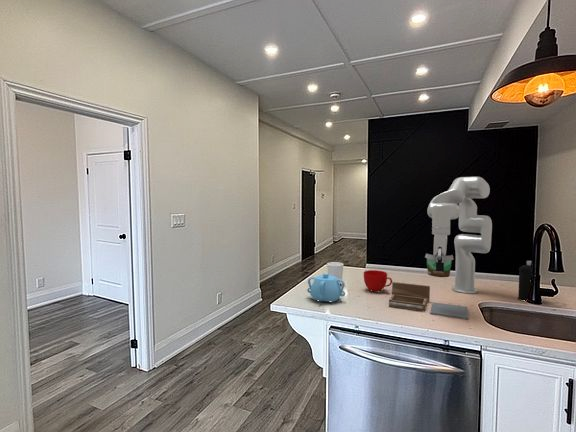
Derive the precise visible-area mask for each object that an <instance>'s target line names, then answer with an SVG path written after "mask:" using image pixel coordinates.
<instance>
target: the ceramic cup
mask: <svg viewBox="0 0 576 432" xmlns="http://www.w3.org/2000/svg"><path fill="white" fill-rule="evenodd" d="M387 280H389V281H390V283H389V284H387ZM363 281H364V284H365V286H366V288H367V289H368V291H370V290H372V291H371V292H373V291H380V292H381V291H382V290H384V289H385V288H387V287H389V286H392V282H393V279H392V278H391V277H388V272H386V271H383V270H376V269H375V270H373V269H371V270H365V271H363Z"/></svg>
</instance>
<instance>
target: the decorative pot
mask: <svg viewBox="0 0 576 432" xmlns="http://www.w3.org/2000/svg"><path fill="white" fill-rule="evenodd" d="M311 280H313V282H311ZM339 281H340V282H342V284H341V285H340V284H339ZM311 283H312V284H311ZM307 284H308V288H307V290H306V291H307V293H309V295H310V297H311V298H312V300H314V301H316V300H319V302H328V301H333V302H336V301H338V300H339V299H340V297H345V296H346V292H345V291H344V287H345V282H344V280H343V279H342V280H341V279H337V278H336V277H335V276H330V275H329V274H328V272H326V273H325V272H324V273H322V274H319V275H316V277H314V276H312V277H309V278H308V280H307Z"/></svg>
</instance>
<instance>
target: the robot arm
mask: <svg viewBox="0 0 576 432" xmlns="http://www.w3.org/2000/svg"><path fill="white" fill-rule="evenodd" d="M490 190H491V188H490V185H489V183H488V182H487V181H486V180H485V179H484V178H483V177H481V176H460V177H456V178H455V179H454V180H453V181H452V184H451V185H450V186H449V188H448V189H447V191H444V192H441V193H440V194H438V195H436V196H434V197H433V198H432V199H431V200H430V202H429V204H428V207H427V211H426V212H427V215H428V217H429V218H431V220H432V221H431V223H432V225H431V226H432V227H431V230H432V231H431V234H432V235H434V237H433V254H432V255H434V256H435V255H437V261H436V271H442V272H443V271H444V263H443V257H444V256H447V248H448V247H447V245H448V236H450V235H451V220H457V219H458V229H459V230H460V231H461V232H464V233H465V232H466V233H465V234H464V233H461V234H460V233H459V234H457V235H456V236H455V237H454V238H453V239H454V241H453V243H454V250H455V268H454V269H455V273H454V274H455V278H454V279H455V280H454V285H452V286H451V289H452V290H453V291H454V292H457V293H461V294H476V293H478V291H479V290H478V288H476V287H475V283H476V282H475V279H476V278H475V276H476V259H475V257H474V256H473V254H472V253H477V254H478V253H479V254H487V253H489V252H490V250H491V247H492V233H493V223H492V222H493V220H492V219H491V217H490V216H489V215H485V214H484V215H479V214H478V206H477V204H476V202H475V201H474V200H473V199H486V198H488V197H489V195H490V192H491V191H490ZM467 233H468V234H467ZM469 233H478V234H479V235H477V234H469ZM441 255H443V256H441ZM441 257H442V258H441Z"/></svg>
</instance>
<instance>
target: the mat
mask: <svg viewBox="0 0 576 432" xmlns="http://www.w3.org/2000/svg"><path fill="white" fill-rule="evenodd" d="M468 312H469V311H468V306H465V305H457V304H450V303H444V302H443V303H442V302H435V301H433V302H432V303H431V307H430V312H429V314H430V315H433V316H440V317H447V318H453V319H459V320H467V321H468V320H469V313H468Z"/></svg>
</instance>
